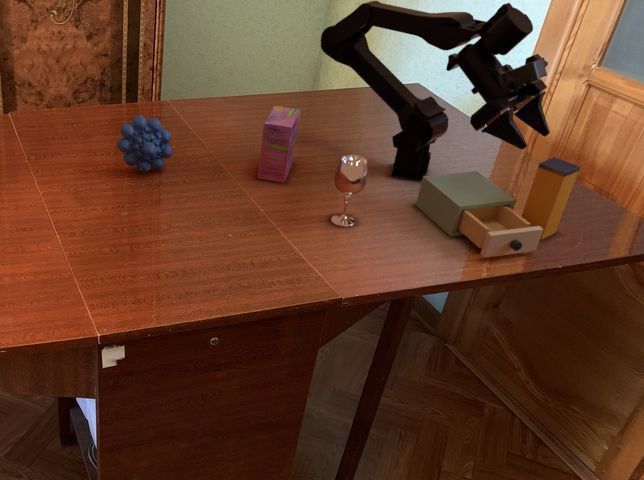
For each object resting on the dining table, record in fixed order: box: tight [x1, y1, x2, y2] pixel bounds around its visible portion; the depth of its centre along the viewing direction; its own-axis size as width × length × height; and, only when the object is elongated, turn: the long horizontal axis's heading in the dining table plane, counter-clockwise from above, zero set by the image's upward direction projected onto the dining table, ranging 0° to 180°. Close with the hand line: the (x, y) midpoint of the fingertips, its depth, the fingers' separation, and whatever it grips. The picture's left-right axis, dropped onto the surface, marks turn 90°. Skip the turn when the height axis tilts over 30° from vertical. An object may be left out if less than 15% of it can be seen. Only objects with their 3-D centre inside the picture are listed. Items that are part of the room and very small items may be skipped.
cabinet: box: [415, 170, 516, 238], centre depth 141 cm, size 13×12×6 cm
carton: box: [520, 156, 581, 241], centre depth 136 cm, size 5×5×13 cm
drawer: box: [457, 205, 543, 258], centre depth 134 cm, size 13×10×4 cm
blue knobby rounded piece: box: [116, 114, 173, 173], centre depth 151 cm, size 12×7×12 cm, turn 110°
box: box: [257, 105, 301, 184], centre depth 154 cm, size 10×6×12 cm, turn 163°
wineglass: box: [330, 154, 369, 227], centre depth 137 cm, size 6×6×12 cm
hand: (536, 141), depth 137 cm, fingers open, 9 cm apart
